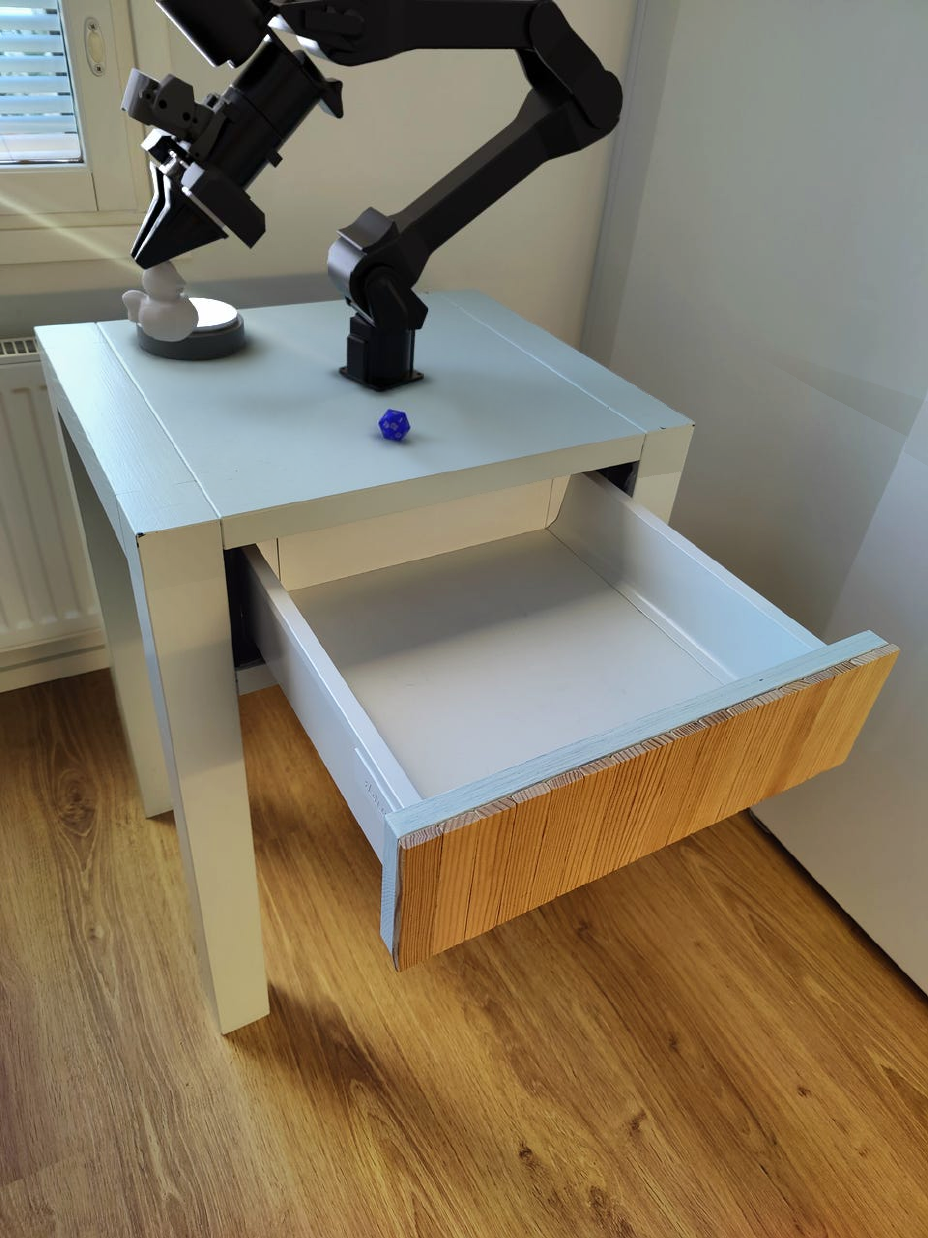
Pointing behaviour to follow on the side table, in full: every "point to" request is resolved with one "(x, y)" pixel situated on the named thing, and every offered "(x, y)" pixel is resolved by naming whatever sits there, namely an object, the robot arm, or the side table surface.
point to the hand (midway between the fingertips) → (137, 262)
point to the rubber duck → (162, 304)
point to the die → (394, 425)
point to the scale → (202, 334)
